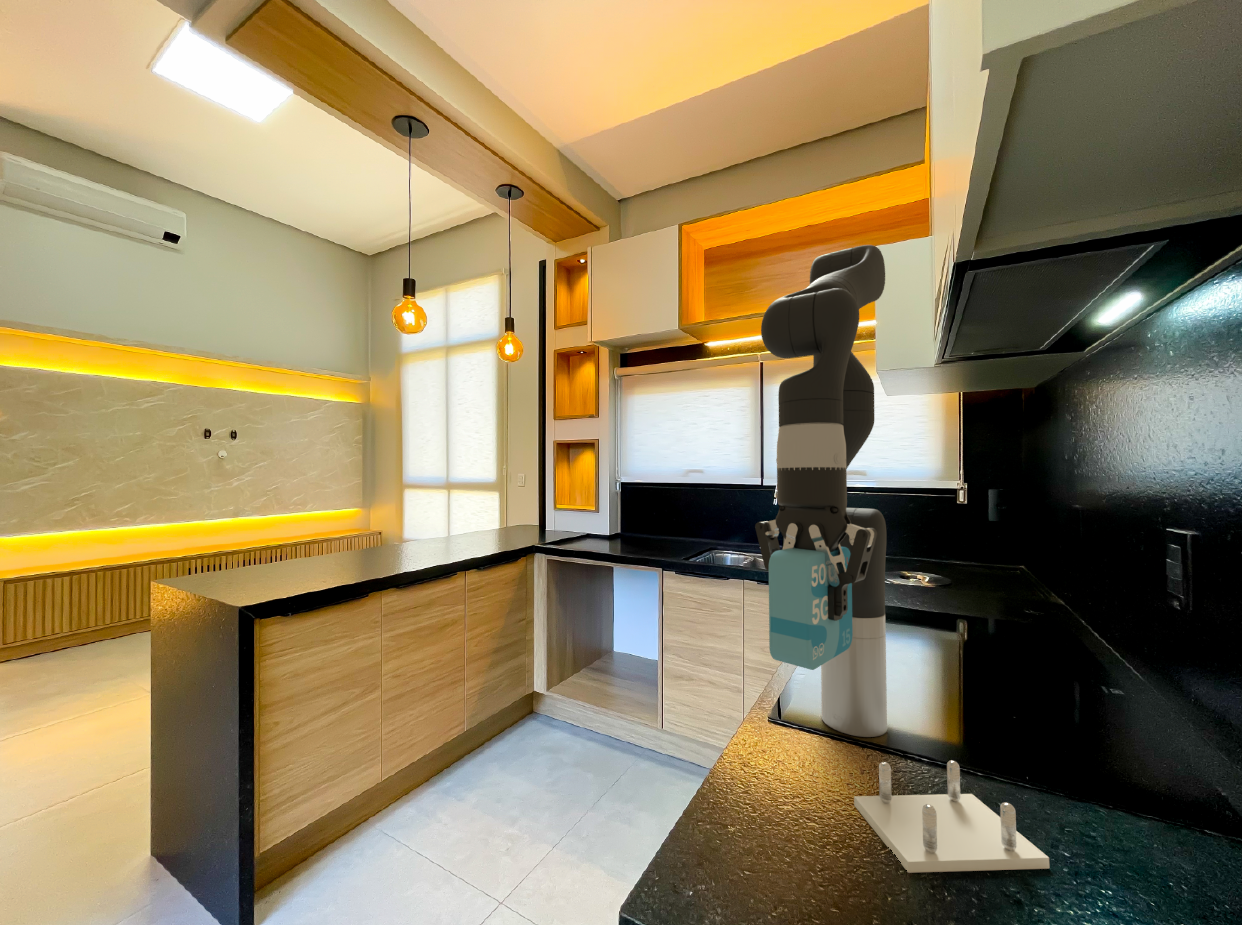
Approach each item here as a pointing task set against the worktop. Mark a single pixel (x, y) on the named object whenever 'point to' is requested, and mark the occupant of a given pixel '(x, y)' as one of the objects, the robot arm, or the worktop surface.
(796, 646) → the data package
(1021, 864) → the tray
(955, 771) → the guide pins
